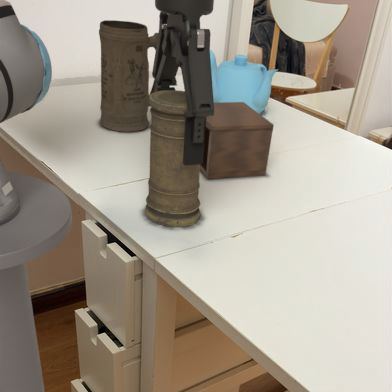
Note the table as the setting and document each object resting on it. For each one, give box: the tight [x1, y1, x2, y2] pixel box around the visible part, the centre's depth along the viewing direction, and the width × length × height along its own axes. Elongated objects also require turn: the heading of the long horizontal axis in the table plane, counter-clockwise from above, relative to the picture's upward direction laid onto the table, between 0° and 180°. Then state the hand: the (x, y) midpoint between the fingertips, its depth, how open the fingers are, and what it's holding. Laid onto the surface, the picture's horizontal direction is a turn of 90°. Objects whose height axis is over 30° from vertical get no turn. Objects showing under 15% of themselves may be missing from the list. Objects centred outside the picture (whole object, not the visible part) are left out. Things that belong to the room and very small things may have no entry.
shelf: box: [199, 102, 275, 180], centre depth 103 cm, size 12×14×10 cm
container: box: [144, 89, 201, 228], centre depth 81 cm, size 9×9×18 cm
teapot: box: [210, 49, 279, 115], centre depth 131 cm, size 17×19×12 cm
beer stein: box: [98, 19, 159, 133], centre depth 114 cm, size 15×11×20 cm
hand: (177, 147), depth 79 cm, fingers open, 13 cm apart
